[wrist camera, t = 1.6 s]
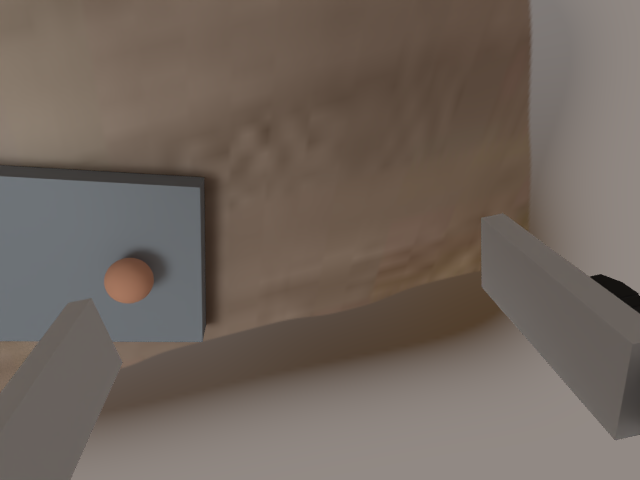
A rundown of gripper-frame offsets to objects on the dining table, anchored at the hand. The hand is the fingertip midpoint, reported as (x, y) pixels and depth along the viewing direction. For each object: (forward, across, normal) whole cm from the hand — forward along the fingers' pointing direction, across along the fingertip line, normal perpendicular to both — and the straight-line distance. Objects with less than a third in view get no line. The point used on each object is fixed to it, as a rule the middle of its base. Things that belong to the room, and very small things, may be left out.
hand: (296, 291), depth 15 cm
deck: (+21, -20, -4) cm, 29 cm away
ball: (+17, -13, -6) cm, 22 cm away
